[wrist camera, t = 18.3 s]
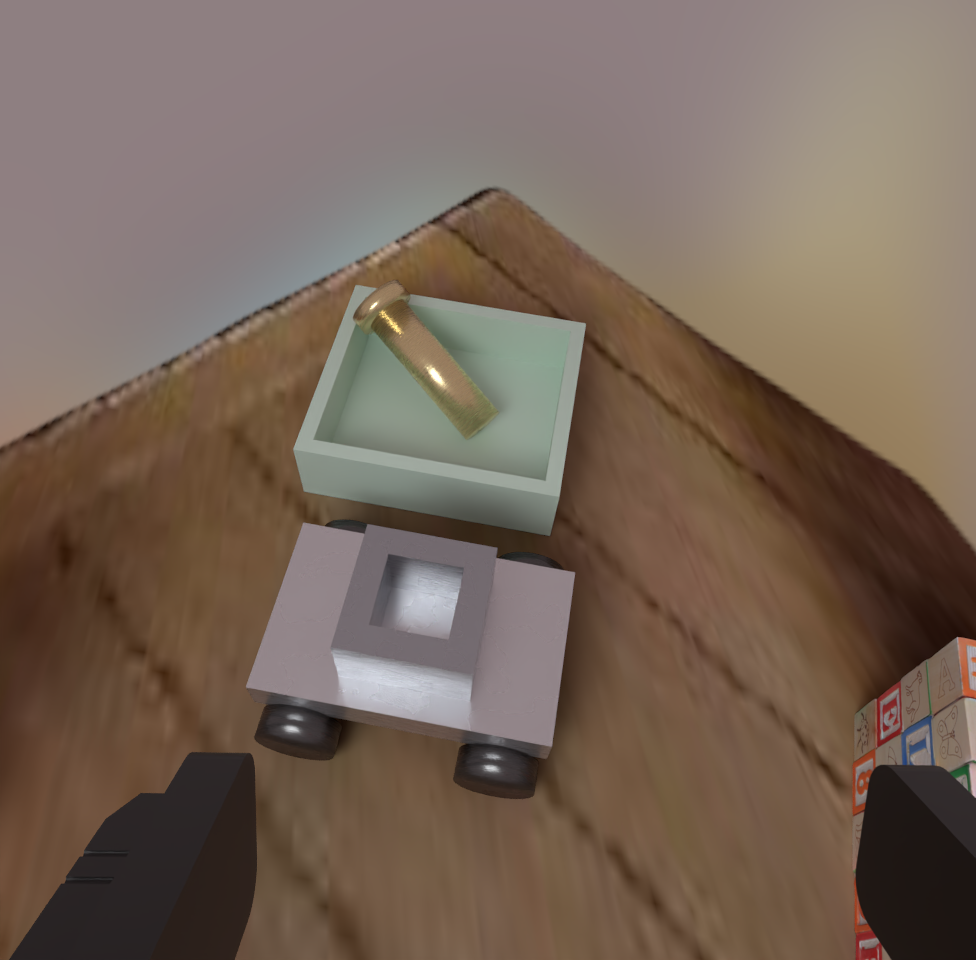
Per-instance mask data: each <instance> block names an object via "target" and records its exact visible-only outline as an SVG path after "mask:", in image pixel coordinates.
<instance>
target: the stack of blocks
mask: <svg viewBox="0 0 976 960" xmlns="http://www.w3.org/2000/svg"><path fill="white" fill-rule="evenodd" d="M879 765H936V766H940V767H942V768H944V769H946V770H947V771H948V772H949V773H950V774H951V775H952V776H953V777H954V778H955V779H956V780H958V781H959V782H960V783H961V784H962V785H963V786H964V787H965V788H966V789H967V790H968V791H969V792H970V793H971V794H972V795H973V796H974V797H975V798H976V640H971V639H967V638H961V637H957V638H955V639H954V640H953V641H951V642H950V643H949V644H948V645H946V646H945V647H944V648H942V649H941V650H940V651H939V652H937V653H936V654H935V655H934V656H932V657H931V658H930V659H927V660H925V661H924V662H922V663H921V664H920V665H919V666H917V667H916V668H915V669H913V670H912V671H910V672H909V673H908V674H907V675H905V676H904V677H903V678H902V679H901V681H899V682H898V683H897V684H895V685H894V686H892V687H891V688H890V689H889V690H887V691H886V692H885V693H883V694H882V695H881V696H880V697H879V698H878V699H874V700H872V701H871V702H870V703H868V704H867V705H866V706H864V707H863V708H862V709H861V710H860V711H859V712H857V713H856V714H855V741H854V763H853V828H852V858H853V861H852V866H853V872H854V874H855V872H856V863H857V857H858V850H859V843H860V837H861V830H862V823H863V817H864V810H865V803H866V797H867V790H868V784H869V779H870V776H871V773H872V772H873V770H874V769H875V768H876V767H877V766H879ZM854 886H855V933H856V935H857V936H856V960H891V958H890V957H889V955H888V954H887V952H886V951H885V949H884V948H883V946H882V945H881V943H880V942H879V940H878V939H877V937H876V936H875V934H874V933H873V931H872V930H871V928H870V927H869V925H868V923H867V922H866V919H865V917H864V915H863V913H862V910H861V907H860V904H859V900H858V895H857V889H856V879H855V882H854Z"/></svg>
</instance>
